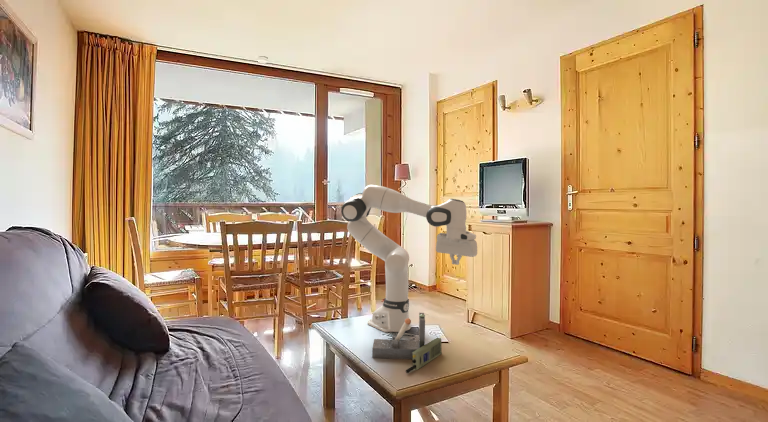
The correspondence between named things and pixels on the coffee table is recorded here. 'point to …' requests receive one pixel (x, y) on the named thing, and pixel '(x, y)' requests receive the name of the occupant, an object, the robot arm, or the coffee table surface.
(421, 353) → the handheld radio
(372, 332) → the coffee table surface
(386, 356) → the breaker box
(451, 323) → the coffee table surface
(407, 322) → the lever
